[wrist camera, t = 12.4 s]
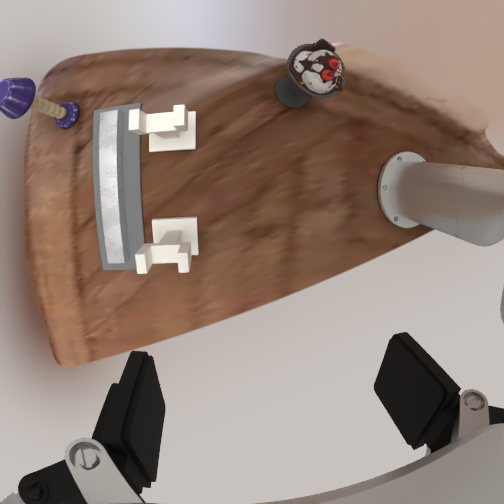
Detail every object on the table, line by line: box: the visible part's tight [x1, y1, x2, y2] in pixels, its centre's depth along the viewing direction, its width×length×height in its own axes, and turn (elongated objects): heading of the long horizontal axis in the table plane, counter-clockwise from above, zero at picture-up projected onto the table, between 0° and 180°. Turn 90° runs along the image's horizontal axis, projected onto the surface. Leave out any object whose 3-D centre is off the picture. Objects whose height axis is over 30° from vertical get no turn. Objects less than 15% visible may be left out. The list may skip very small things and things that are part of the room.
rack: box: [129, 105, 199, 274], centre depth 29 cm, size 6×19×12 cm, turn 0°
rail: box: [99, 110, 130, 264], centre depth 32 cm, size 2×20×2 cm, turn 0°
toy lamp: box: [0, 78, 80, 129], centre depth 21 cm, size 5×5×17 cm
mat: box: [93, 103, 145, 270], centre depth 34 cm, size 7×23×1 cm, turn 0°
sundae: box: [275, 39, 346, 108], centre depth 26 cm, size 7×7×15 cm
